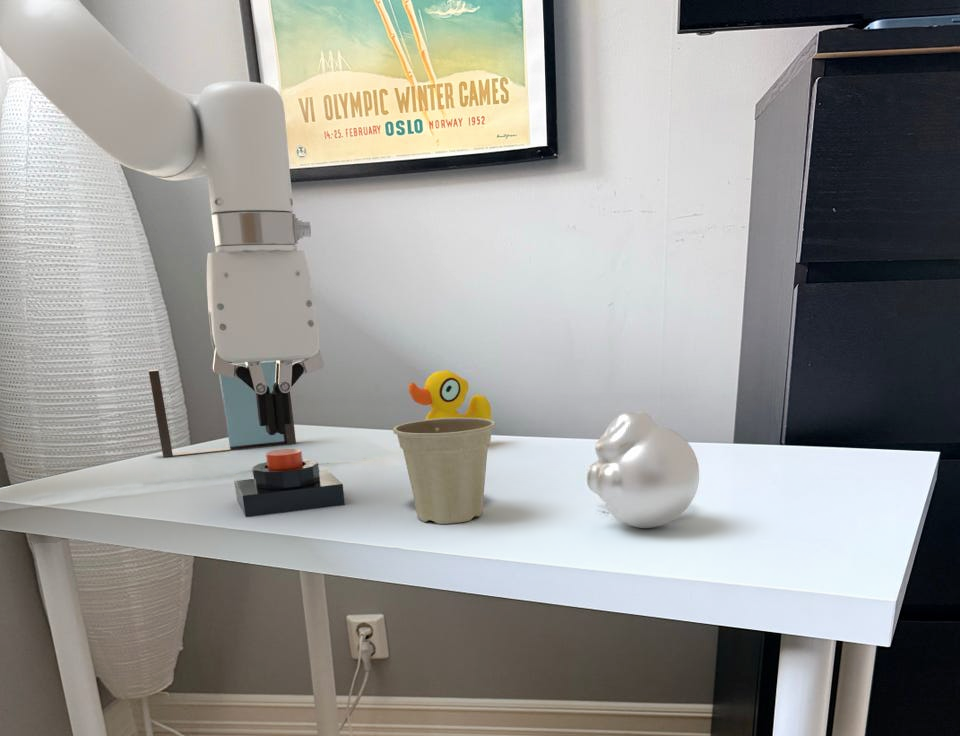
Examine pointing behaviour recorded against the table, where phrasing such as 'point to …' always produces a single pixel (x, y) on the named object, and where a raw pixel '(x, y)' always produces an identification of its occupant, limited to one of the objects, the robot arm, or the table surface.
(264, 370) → the window pane
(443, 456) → the flower pot
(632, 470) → the pearly white lumpy ball
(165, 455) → the window frame
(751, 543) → the table surface
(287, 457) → the button
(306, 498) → the button box
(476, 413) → the duckling
